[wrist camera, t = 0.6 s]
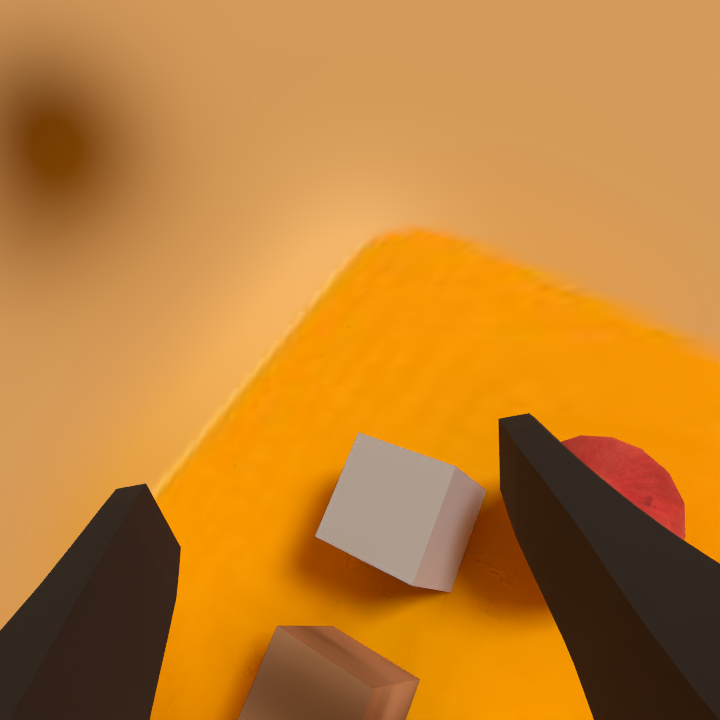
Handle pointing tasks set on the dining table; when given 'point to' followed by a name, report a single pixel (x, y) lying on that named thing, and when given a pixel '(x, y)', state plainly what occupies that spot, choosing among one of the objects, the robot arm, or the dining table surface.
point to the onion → (633, 477)
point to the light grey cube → (402, 513)
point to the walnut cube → (326, 679)
